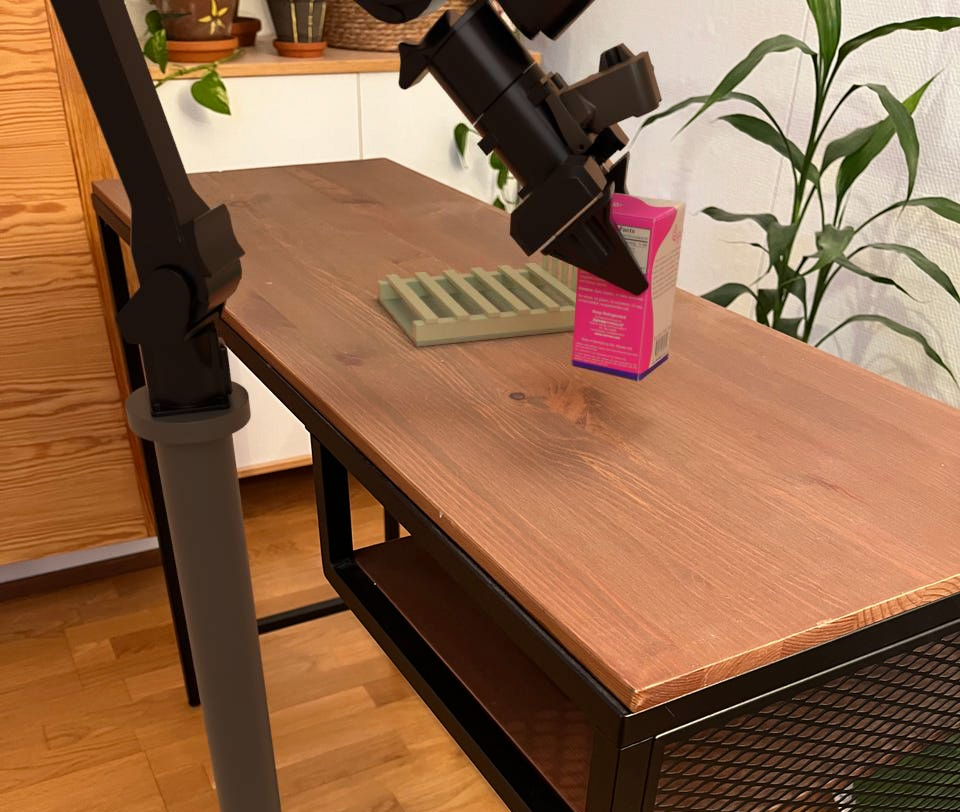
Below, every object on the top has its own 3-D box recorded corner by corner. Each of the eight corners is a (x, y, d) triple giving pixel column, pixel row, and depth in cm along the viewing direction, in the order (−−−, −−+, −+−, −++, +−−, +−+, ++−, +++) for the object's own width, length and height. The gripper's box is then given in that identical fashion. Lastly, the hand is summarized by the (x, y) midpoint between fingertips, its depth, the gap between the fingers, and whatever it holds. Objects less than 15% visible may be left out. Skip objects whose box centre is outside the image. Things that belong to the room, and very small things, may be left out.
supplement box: (599, 344, 82) (615, 190, 75) (669, 360, 79) (692, 202, 73) (566, 366, 77) (580, 204, 71) (639, 383, 75) (660, 218, 68)
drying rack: (416, 346, 94) (415, 268, 90) (377, 300, 105) (375, 228, 101) (596, 328, 99) (602, 253, 95) (541, 285, 110) (545, 216, 106)
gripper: (576, 11, 58) (741, 233, 62) (612, -10, 73) (743, 171, 77) (439, 153, 64) (599, 347, 68) (498, 107, 78) (627, 268, 83)
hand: (648, 276), depth 74 cm, fingers closed on supplement box, 7 cm apart
